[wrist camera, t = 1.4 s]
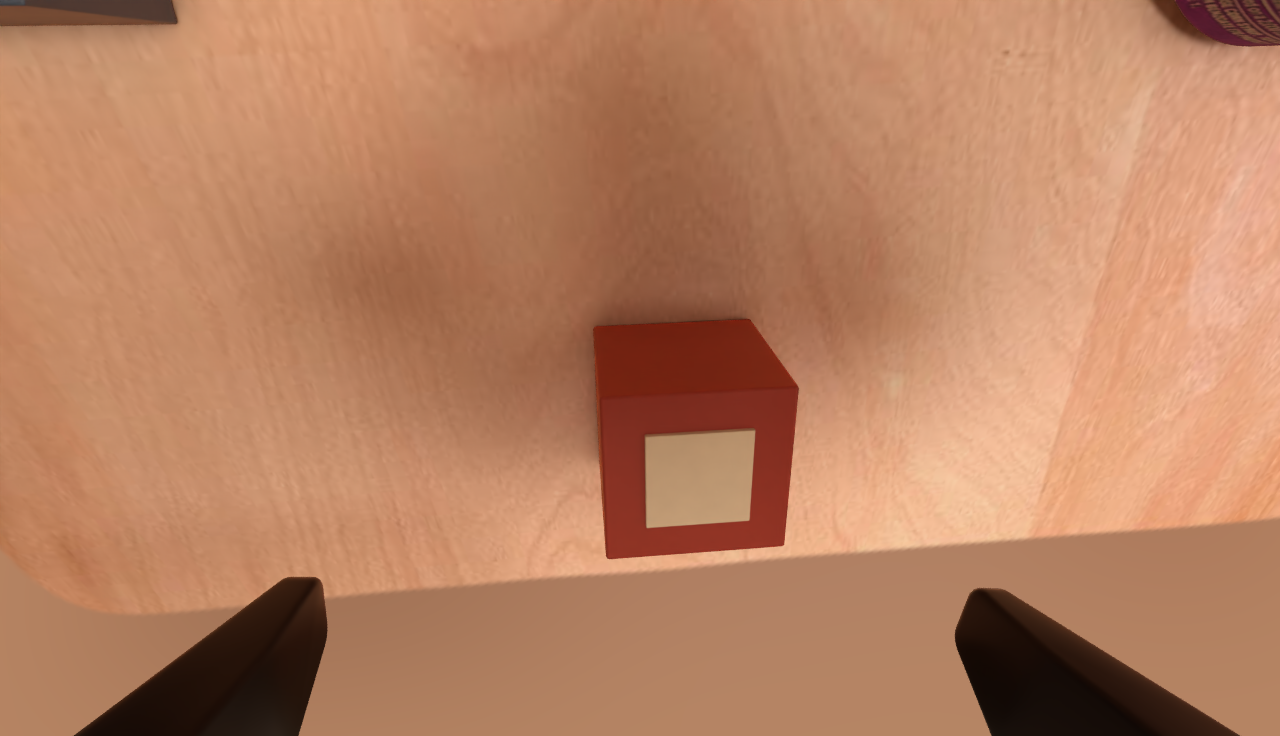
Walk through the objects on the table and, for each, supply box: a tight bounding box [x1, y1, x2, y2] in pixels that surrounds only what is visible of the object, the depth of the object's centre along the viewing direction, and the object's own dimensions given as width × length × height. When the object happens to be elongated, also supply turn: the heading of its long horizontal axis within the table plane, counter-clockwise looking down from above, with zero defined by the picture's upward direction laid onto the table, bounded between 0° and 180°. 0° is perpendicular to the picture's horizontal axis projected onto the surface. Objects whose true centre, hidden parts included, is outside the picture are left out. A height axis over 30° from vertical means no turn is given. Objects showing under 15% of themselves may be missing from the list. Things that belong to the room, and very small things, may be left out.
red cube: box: [593, 319, 799, 559], centre depth 19 cm, size 5×5×5 cm
